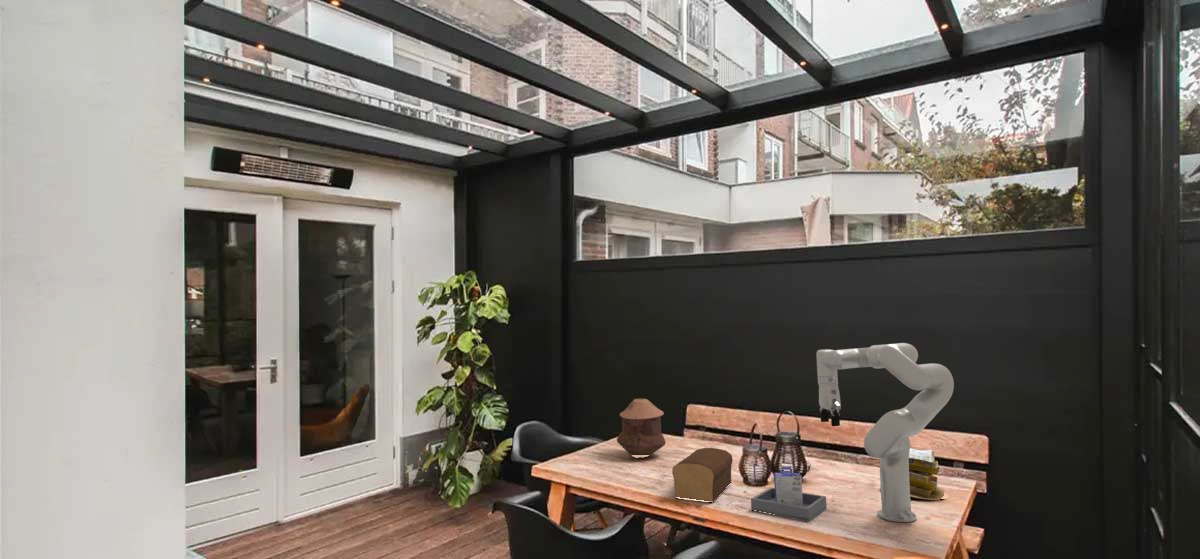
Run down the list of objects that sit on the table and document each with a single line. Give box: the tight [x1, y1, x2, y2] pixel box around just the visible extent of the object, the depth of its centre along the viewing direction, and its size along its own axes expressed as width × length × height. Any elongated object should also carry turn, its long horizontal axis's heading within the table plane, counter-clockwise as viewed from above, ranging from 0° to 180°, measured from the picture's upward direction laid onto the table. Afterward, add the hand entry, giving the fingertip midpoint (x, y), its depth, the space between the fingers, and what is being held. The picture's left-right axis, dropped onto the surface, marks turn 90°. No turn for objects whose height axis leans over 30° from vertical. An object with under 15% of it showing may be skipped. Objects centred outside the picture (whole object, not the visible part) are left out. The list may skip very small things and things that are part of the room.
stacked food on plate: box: [909, 447, 946, 501], centre depth 250 cm, size 25×25×17 cm
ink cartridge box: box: [773, 467, 803, 507], centre depth 233 cm, size 10×6×14 cm, turn 83°
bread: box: [671, 447, 733, 501], centre depth 259 cm, size 18×30×16 cm, turn 154°
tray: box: [750, 487, 827, 523], centre depth 232 cm, size 22×18×4 cm
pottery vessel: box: [616, 398, 666, 456], centre depth 325 cm, size 26×26×30 cm
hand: (830, 423), depth 245 cm, fingers open, 9 cm apart
